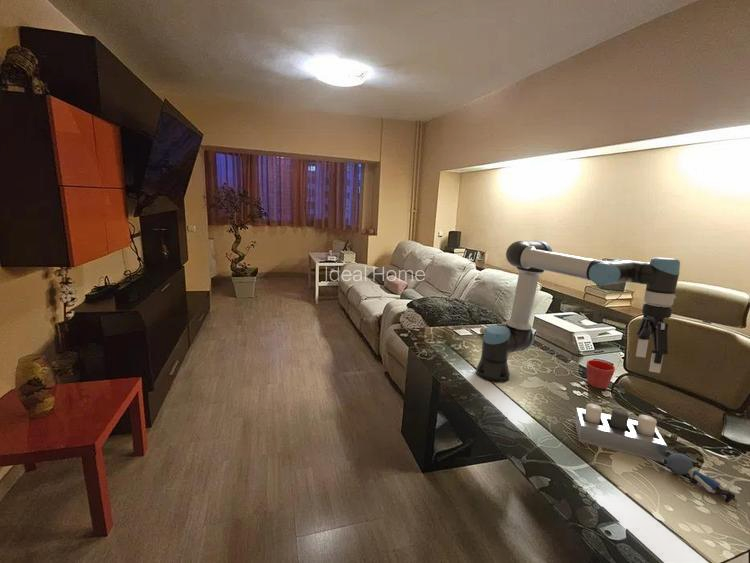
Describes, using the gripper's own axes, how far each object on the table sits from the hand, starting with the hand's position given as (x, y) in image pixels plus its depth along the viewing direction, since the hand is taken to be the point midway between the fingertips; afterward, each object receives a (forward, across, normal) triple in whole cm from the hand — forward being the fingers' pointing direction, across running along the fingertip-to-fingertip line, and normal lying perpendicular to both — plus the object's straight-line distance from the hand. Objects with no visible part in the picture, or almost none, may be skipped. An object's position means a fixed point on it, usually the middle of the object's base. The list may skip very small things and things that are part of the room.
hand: (647, 363), depth 116 cm
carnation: (+25, +69, +50) cm, 89 cm away
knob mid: (+21, -9, +8) cm, 25 cm away
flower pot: (+26, +36, +5) cm, 44 cm away
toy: (+26, -22, -9) cm, 35 cm away
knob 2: (+21, -10, 0) cm, 23 cm away
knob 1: (+21, -9, +15) cm, 28 cm away
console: (+26, -9, +8) cm, 29 cm away
